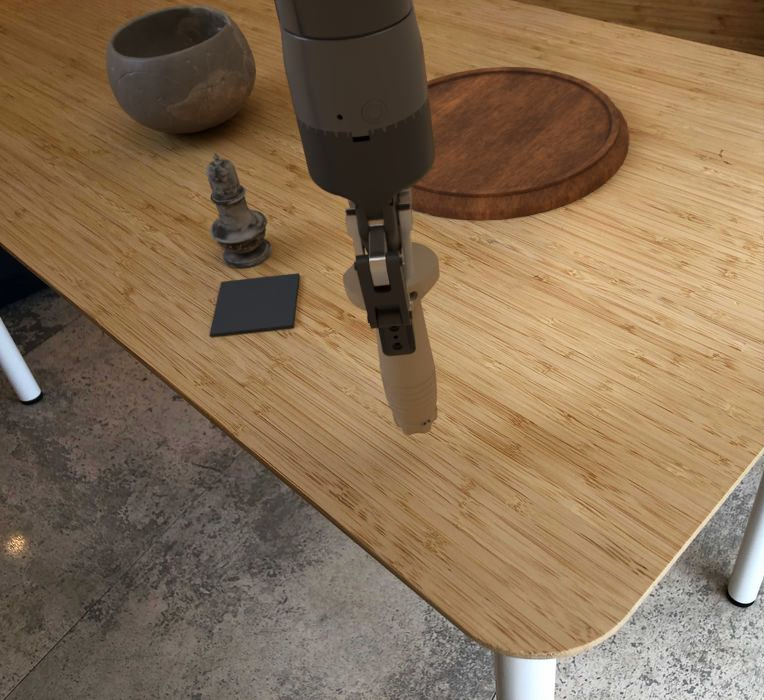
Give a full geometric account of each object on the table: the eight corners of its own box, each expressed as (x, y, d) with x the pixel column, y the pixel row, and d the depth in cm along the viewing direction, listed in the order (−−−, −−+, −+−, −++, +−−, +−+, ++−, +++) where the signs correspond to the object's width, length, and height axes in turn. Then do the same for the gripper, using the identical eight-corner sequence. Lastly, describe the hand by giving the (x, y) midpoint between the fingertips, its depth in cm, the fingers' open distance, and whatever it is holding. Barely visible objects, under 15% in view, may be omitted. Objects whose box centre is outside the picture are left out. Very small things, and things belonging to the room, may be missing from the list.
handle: (468, 420, 65) (452, 265, 55) (399, 461, 63) (368, 308, 53) (432, 386, 68) (410, 233, 58) (365, 424, 66) (330, 272, 56)
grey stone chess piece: (281, 236, 92) (253, 137, 84) (264, 271, 88) (233, 170, 79) (230, 236, 93) (197, 137, 84) (211, 269, 89) (174, 169, 80)
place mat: (210, 337, 81) (209, 334, 80) (222, 284, 87) (221, 281, 86) (293, 328, 81) (293, 324, 80) (299, 275, 86) (299, 272, 86)
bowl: (293, 100, 115) (270, 6, 106) (208, 167, 104) (174, 69, 95) (193, 82, 122) (164, -8, 113) (103, 143, 111) (63, 49, 102)
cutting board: (674, 111, 104) (675, 92, 102) (540, 252, 86) (540, 231, 84) (460, 63, 119) (458, 46, 117) (307, 175, 101) (303, 156, 99)
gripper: (302, 45, 52) (348, 263, 64) (281, 168, 42) (341, 402, 53) (423, 33, 52) (447, 253, 64) (433, 152, 42) (460, 390, 53)
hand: (399, 320), depth 58 cm, fingers closed on handle, 5 cm apart
